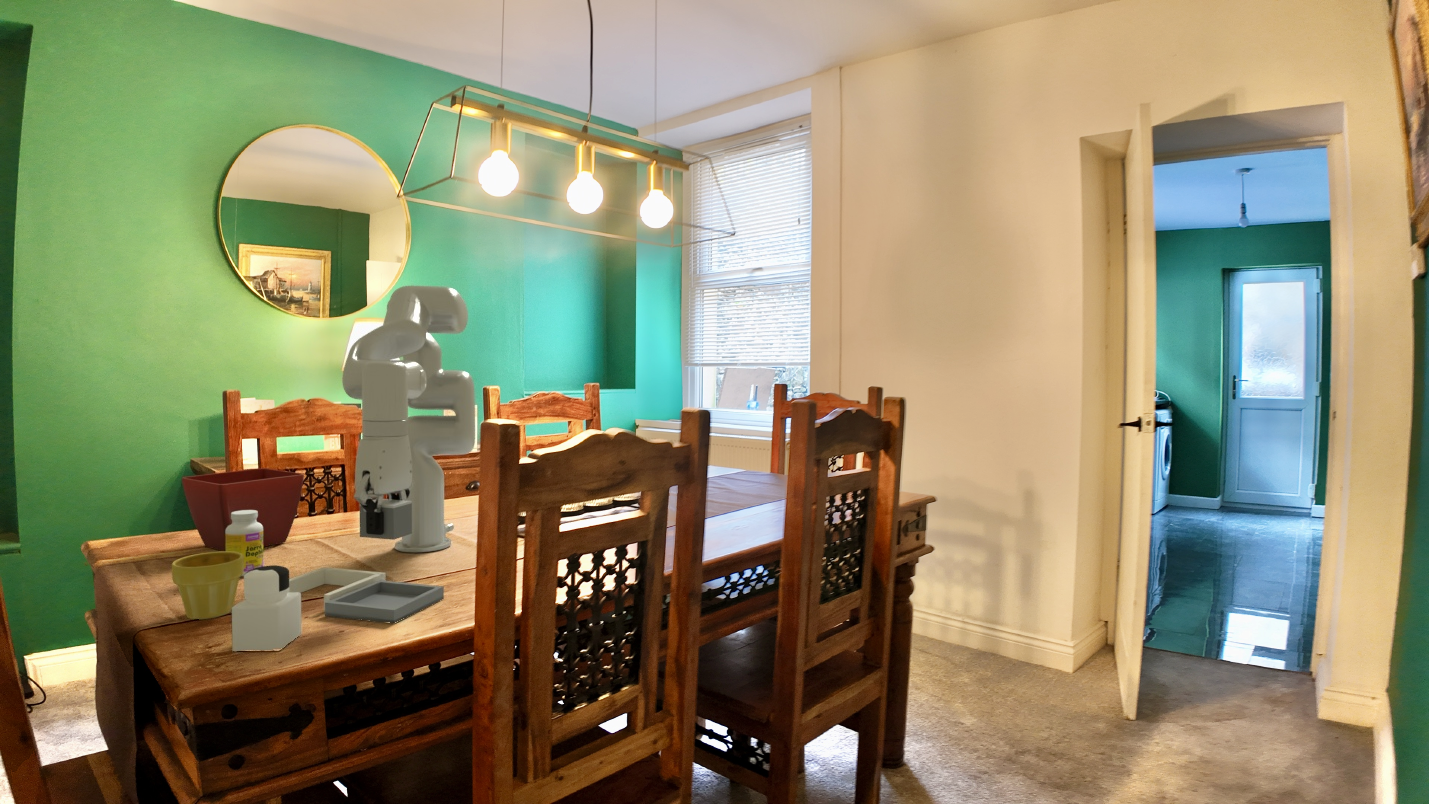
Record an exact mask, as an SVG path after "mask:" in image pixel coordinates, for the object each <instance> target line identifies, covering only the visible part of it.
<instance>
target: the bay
mask: <svg viewBox="0 0 1429 804" xmlns="http://www.w3.org/2000/svg"><path fill="white" fill-rule="evenodd" d="M386 574H387V573H386V572H379V571H371V570H370V571H369V570H360V569H359V570H357V569H350V568H340V567H338V568H337V567H329V566H328V567H327V566H323V567H319V568H317V569H314V570H311V571H308V572H305V573H303V574H300V575H299V574H298V575H297V576H294V577H292V578H290V577H289V592H288V593H295V592H299V593H301V594H302V593H304V592H306V591H309V590H312V589H315V588H317V587H321V586H322V585H332V586H333V585H334V586H341V587H339V588H336V589H335V590H332V591H329V592H328V593H324V594H323V611H324V612H325V602H327V601H330V600H332V599H335V598H337V597H339V596H342V595H344V594H347V593H349V592H352V591H354V590H357V589H359V588H362V587H364V586H366V585H369V584H371V583H374V582H376V581H379V580H384V581H387V579H386V577H387V576H386Z"/></svg>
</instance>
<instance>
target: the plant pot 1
mask: <svg viewBox="0 0 1429 804" xmlns="http://www.w3.org/2000/svg"><path fill="white" fill-rule="evenodd" d="M304 477H305V474H304V473H300V472H293V471H286V470H281V469H279V470H278V469H274V468H267V467H266V468H263V467H261V468H254V469H243V470H241V469H240V470H234V471H233V470H232V471H225V472H218V473H217V472H214V473H205V474H200V475H199V474H198V475H190V476H183V477H181V481H182V482H181V483H182V487H183V491H184V495H185V499H186V501H187V506H188V509H189V512H190V516H191V518H192V520H193V523H194V525H195V527H196V530H197V532H198V535H199V536H200V538H201V540H202V543H203V546H204V547H207V548H209V549H210V548H211V549H214V550H218V551H226V537H225V531H226V528H227V527H228V526H229V525H231V524H232V519H231V513H232V512H235V511H241V510H256V511H258V517H257V519H256V521H257V522H258V523H260V524H262V526H263V548H264V547H269V546H274V545H280V544H283V543H286V542H287V539H288V537H289V535H290V532H291V529H292V526H293V525H294V524H293V523H294V521H295V518H296V516H297V512H298V508H299V504H300V500H301V495H302V490H303V484H304V480H305V479H304Z"/></svg>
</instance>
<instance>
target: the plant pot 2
mask: <svg viewBox="0 0 1429 804" xmlns="http://www.w3.org/2000/svg"><path fill="white" fill-rule="evenodd" d="M243 573H244V556H243V554H241V553H239V552H231V551H221V550H218V551H208V552H201V553H196V554H190V555H186V556H183V557H181V558H177V559H176V560H174V561H173V562H172V563H171V577H172V578H171V579H172V583H173V584H174V585H176V586H177V588H178V591H179V594H180V598H181V601H182V604H183V608H184V611H185V615H186V617H187V619H190V620H194V619H199V621H200V620H208V619H215V618H219V617H222V616H223V617H224V616H226V615H228V614H229V613H232V612H231V609H232V607H233V606H235V605H234V604H235V599H236V595H237V590H238V586H239V585H238V584H239V581H240V578H241V577H240V576H241V575H242V574H243Z"/></svg>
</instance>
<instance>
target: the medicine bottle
mask: <svg viewBox="0 0 1429 804" xmlns="http://www.w3.org/2000/svg"><path fill="white" fill-rule="evenodd" d="M289 579H290V570H289V568H287V567H285V566H283V565H278V564H277V565H275V564H274V565H263V566H262V567H257V568H254V569H252V570H250V571H248V572H246V574H245V575H244V576H243V592H244V594H243V597H244V598H245V599H243V600H241V601H240V602H238V603H237V604H235V605H233V607H232V609H231V612H230V613H231V650H232V652H233V651H241V650H273V649H281V648H283V647H284V646H285V645H287V644H288V643H289V642H291V641H293V640H294V639H295V638H296V639H297V637H298V636H299V637H300V636H301V635H302V592H301V593H299V592H295V593H288V592H289ZM299 637H298V638H299ZM296 639H295V640H296ZM295 640H294V641H295ZM294 641H293V642H294ZM291 643H292V642H291ZM287 646H288V645H287Z"/></svg>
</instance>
